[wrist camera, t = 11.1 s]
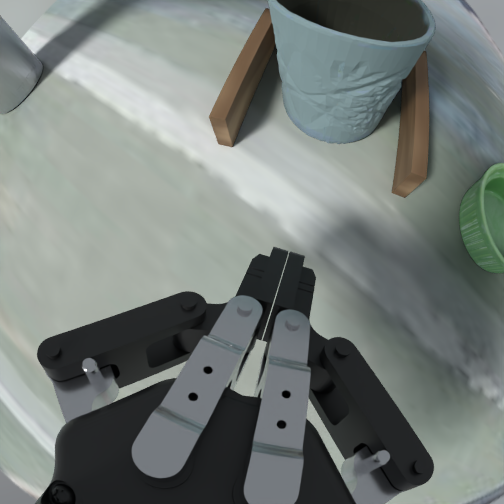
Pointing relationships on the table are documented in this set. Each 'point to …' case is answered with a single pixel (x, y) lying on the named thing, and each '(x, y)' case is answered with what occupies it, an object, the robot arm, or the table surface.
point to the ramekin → (485, 220)
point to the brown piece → (251, 70)
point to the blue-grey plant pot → (346, 60)
